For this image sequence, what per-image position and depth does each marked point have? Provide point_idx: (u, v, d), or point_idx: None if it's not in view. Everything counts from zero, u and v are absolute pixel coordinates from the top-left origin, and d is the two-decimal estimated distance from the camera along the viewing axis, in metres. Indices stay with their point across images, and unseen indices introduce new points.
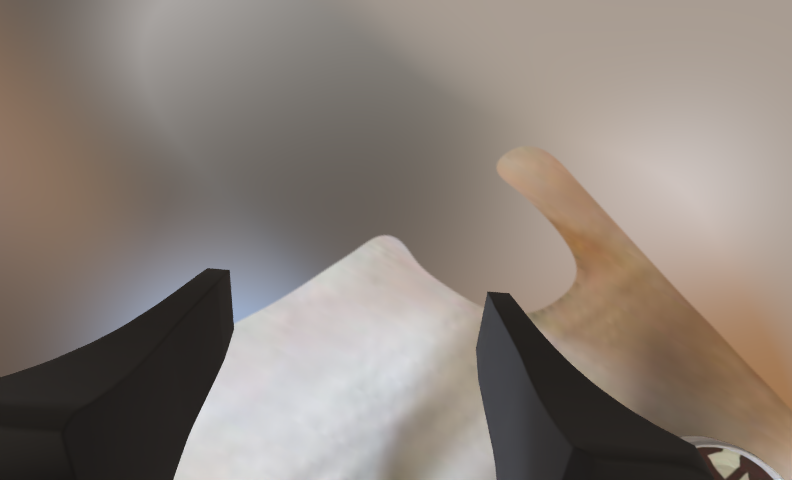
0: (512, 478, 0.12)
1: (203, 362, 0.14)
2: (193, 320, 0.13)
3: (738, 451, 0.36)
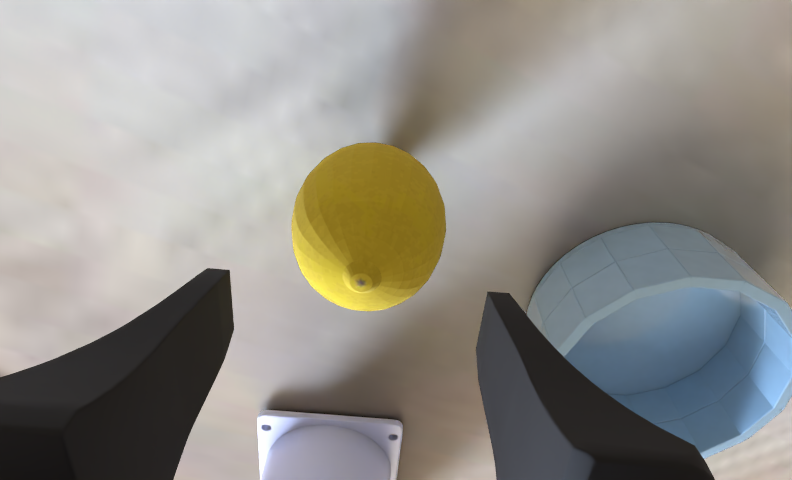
0: (512, 478, 0.12)
1: (203, 362, 0.14)
2: (193, 320, 0.13)
3: None
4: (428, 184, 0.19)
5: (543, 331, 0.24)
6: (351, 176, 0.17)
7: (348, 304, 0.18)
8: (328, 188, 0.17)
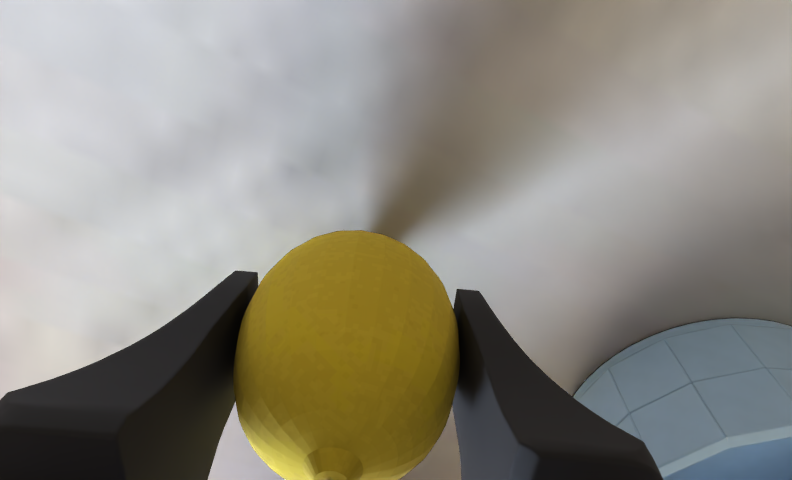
0: (472, 475, 0.12)
1: None
2: (226, 323, 0.13)
3: None
4: (435, 303, 0.13)
5: None
6: (318, 305, 0.11)
7: None
8: (281, 323, 0.11)
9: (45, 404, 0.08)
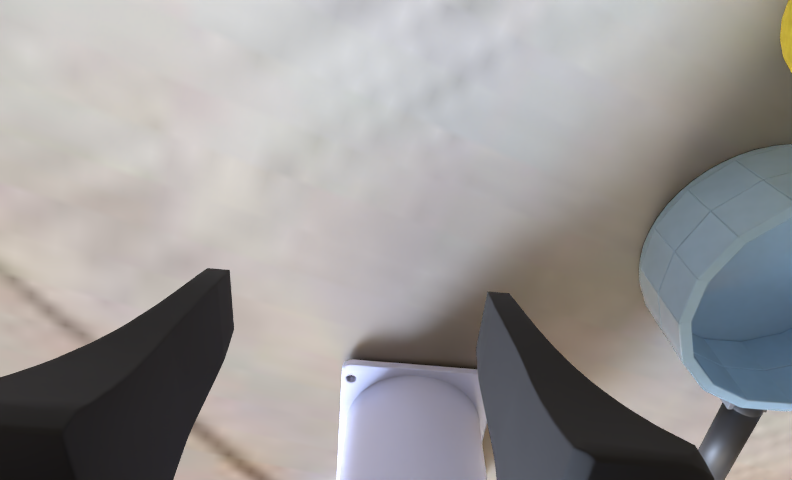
0: (512, 478, 0.12)
1: (203, 362, 0.14)
2: (193, 320, 0.13)
3: None
4: None
5: (675, 260, 0.22)
6: None
7: None
8: None
9: None
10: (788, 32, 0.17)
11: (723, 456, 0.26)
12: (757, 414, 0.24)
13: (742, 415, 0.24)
